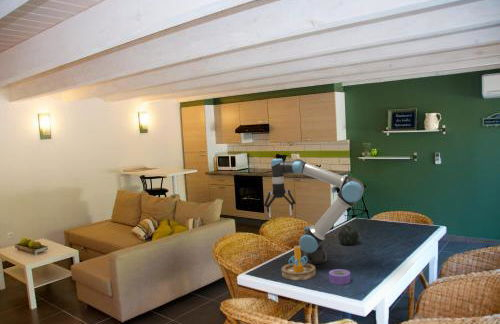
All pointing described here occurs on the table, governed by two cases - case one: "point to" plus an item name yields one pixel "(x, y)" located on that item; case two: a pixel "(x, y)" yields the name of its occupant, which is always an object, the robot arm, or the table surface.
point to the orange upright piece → (298, 260)
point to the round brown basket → (291, 275)
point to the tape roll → (339, 276)
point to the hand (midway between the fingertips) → (280, 216)
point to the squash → (348, 235)
